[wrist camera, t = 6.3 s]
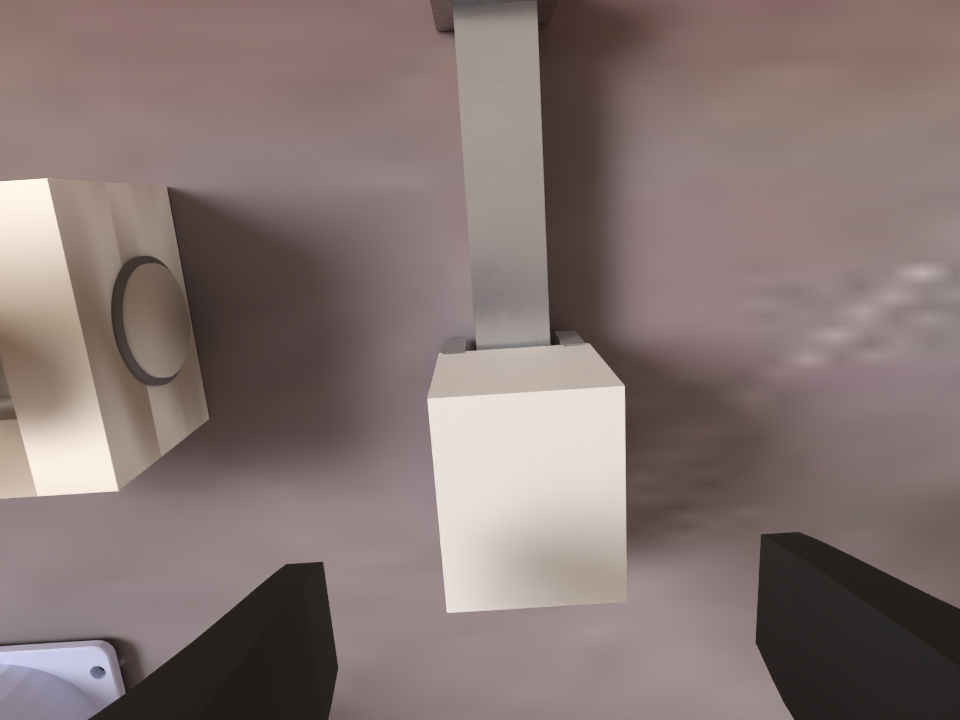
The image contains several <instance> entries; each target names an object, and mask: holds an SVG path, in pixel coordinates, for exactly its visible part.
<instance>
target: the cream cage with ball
mask: <svg viewBox="0 0 960 720" xmlns="http://www.w3.org/2000/svg"><path fill="white" fill-rule="evenodd" d="M207 420H209V414H208V409H207V403H206V398H205V393H204V387H203V382H202V376H201V371H200V365H199V360H198V354H197V349H196V344H195V338H194V333H193V327H192V322H191V316H190V311H189V305H188V300H187V294H186V289H185V284H184V278H183V273H182V267H181V262H180V256H179V251H178V245H177V240H176V235H175V229H174V224H173V218H172V213H171V207H170V202H169V196H168V191H167V186H153V185H138V184H123V183H108V182H93V181H79V180H64V179H49V178H45V179H31V180H16V181H2V182H0V499H3V498H18V497H34V496H49V495H65V494H81V493H96V492H112V491H119V490H121V489H122V488H123V487H124V486H126V485H127V484H128V483H129V482H131V481H132V480H133V479H134V478H136V477H137V476H138V475H139V474H141V473H142V472H143V471H144V470H146V469H147V468H148V467H149V466H151V465H152V464H153V463H154V462H156V461H157V460H158V459H160V458H161V457H162V456H163V455H165V454H166V453H167V452H168V451H170V450H171V449H172V448H173V447H175V446H176V445H177V444H178V443H180V442H181V441H182V440H183V439H185V438H186V437H187V436H188V435H190V434H191V433H192V432H194V431H195V430H196V429H197V428H199V427H200V426H201V425H202V424H204V423H205V422H206V421H207Z"/></svg>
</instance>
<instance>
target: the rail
mask: <svg viewBox="0 0 960 720" xmlns="http://www.w3.org/2000/svg"><path fill="white" fill-rule="evenodd" d="M430 2H431V7H432V11H433V16H434V20H435V25H436V30H437V31H449V30H454V32H455V46H456V61H457V75H458V90H459V104H460V119H461V133H462V147H463V162H464V176H465V191H466V205H467V219H468V234H469V248H470V263H471V277H472V291H473V306H474V320H475V335H476V349H477V350H492V349H508V348H523V347H538V346H550V324H549V298H548V273H547V247H546V222H545V196H544V171H543V145H542V120H541V94H540V69H539V43H538V24H548V23H549V20H550V18H551V15H552V13H553V10H554V7H555V5H556V2H557V0H430Z"/></svg>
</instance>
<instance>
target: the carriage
mask: <svg viewBox="0 0 960 720" xmlns="http://www.w3.org/2000/svg"><path fill="white" fill-rule="evenodd" d="M554 334H555V345H553V346H538V347H523V348H508V349H492V350H477V351H467V341H466V337H464V338H448V339H446V340H445V345H444V349H443V353H439V355H438V359H437V363H436V367H435V371H434V375H433V378H432V382H431V386H430V390H429V394H428V398H427V400H428V411H429V422H430V433H431V444H432V455H433V466H434V477H435V488H436V499H437V510H438V521H439V531H440V542H441V553H442V564H443V575H444V586H445V597H446V608H447V613H455V612H471V611H487V610H503V609H519V608H536V607H552V606H568V605H584V604H600V603H616V602H627V558H626V447H625V385H624V384H623V383H622V382H621V380H620V379H619V378H618V377H617V376H616V375H615V373H614V372H613V371H612V370H611V369H610V367H609V366H608V365H607V364H606V363H605V361H604V360H603V359H602V358H601V357H600V355H599V354H598V353H597V352H596V351H595V349H594V348H593V347H592V346H591V345H590V343H585V342H584V341H583V340H582V338H581V337H580V336H579V335H578V333H577V332H576V331H575V330H569V331H554Z"/></svg>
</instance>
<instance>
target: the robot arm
mask: <svg viewBox="0 0 960 720" xmlns="http://www.w3.org/2000/svg"><path fill="white" fill-rule="evenodd" d="M756 644H757V646H758V649H759V651H760V653H761V655H762V657H763V660H764V662H765V664H766V666H767V668H768V671H769V673H770V675H771V677H772V679H773V681H774V683H775V685H776V687H777V689H778V691H779V693H780V695H781V697H782V700H783V702H784V703H785V705H786V707H787V708H788V710H789V712H790V713H791V715H792V717H793V718H794V720H960V609H959V608H956V607H954V606H952V605H950V604H948V603H946V602H944V601H942V600H939V599H937V598H935V597H933V596H931V595H929V594H927V593H925V592H923V591H921V590H919V589H917V588H915V587H913V586H911V585H909V584H907V583H905V582H903V581H901V580H899V579H897V578H895V577H893V576H891V575H889V574H887V573H885V572H883V571H881V570H879V569H877V568H875V567H873V566H871V565H869V564H867V563H865V562H863V561H861V560H859V559H857V558H855V557H853V556H850V555H848V554H846V553H844V552H842V551H840V550H838V549H836V548H834V547H832V546H830V545H828V544H826V543H823V542H821V541H819V540H817V539H814V538H812V537H810V536H807V535H805V534H802V533H800V532H793V533H777V534H762V535H761V548H760V567H759V587H758V606H757V626H756ZM98 666H100V667H102V668H104V670H102V669H100V668H99V667H98ZM337 671H338V664H337V657H336V650H335V643H334V636H333V629H332V622H331V615H330V608H329V601H328V594H327V587H326V580H325V573H324V566H323V562H314V563H298V564H286V565H285V566H283V567H282V568H281V569H279V570H278V571H277V572H275V573H274V574H273V575H272V576H270V577H269V578H268V579H267V580H266V581H264V582H263V583H262V584H261V585H260V586H258V587H257V588H256V589H255V590H254V591H253V592H251V593H250V594H249V595H248V596H247V597H246V598H244V599H243V600H242V601H241V602H240V603H239V604H237V605H236V606H235V607H234V608H233V609H231V610H230V611H229V612H228V613H227V614H225V615H224V616H223V617H222V618H221V619H219V620H218V621H217V622H216V623H215V624H214V625H212V626H211V627H210V628H209V629H208V630H206V631H205V632H204V633H203V634H202V635H200V636H199V637H198V638H197V639H196V640H194V641H193V642H192V643H191V644H189V645H188V646H187V647H185V648H184V649H183V650H181V651H180V652H179V653H178V654H176V655H175V656H174V657H172V658H171V659H170V660H169V661H167V662H166V663H165V664H163V665H162V666H161V667H159V668H158V669H157V670H156V671H154V672H153V673H152V674H150V675H149V676H148V677H147V678H145V679H144V680H143V681H141V682H140V683H139V684H137V685H136V686H135V687H134V688H132V689H131V690H129V691H128V692H127V693H126V692H125V688H124V684H123V680H122V676H121V671H120V667H119V663H118V659H117V655H116V652H115V649H114V647H113V646H112V645H111V644H110V643H108V642H106V641H101V640H93V641H76V642H60V643H44V644H28V645H12V646H0V720H328V718H329V713H330V709H331V704H332V698H333V693H334V687H335V682H336V677H337Z"/></svg>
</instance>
